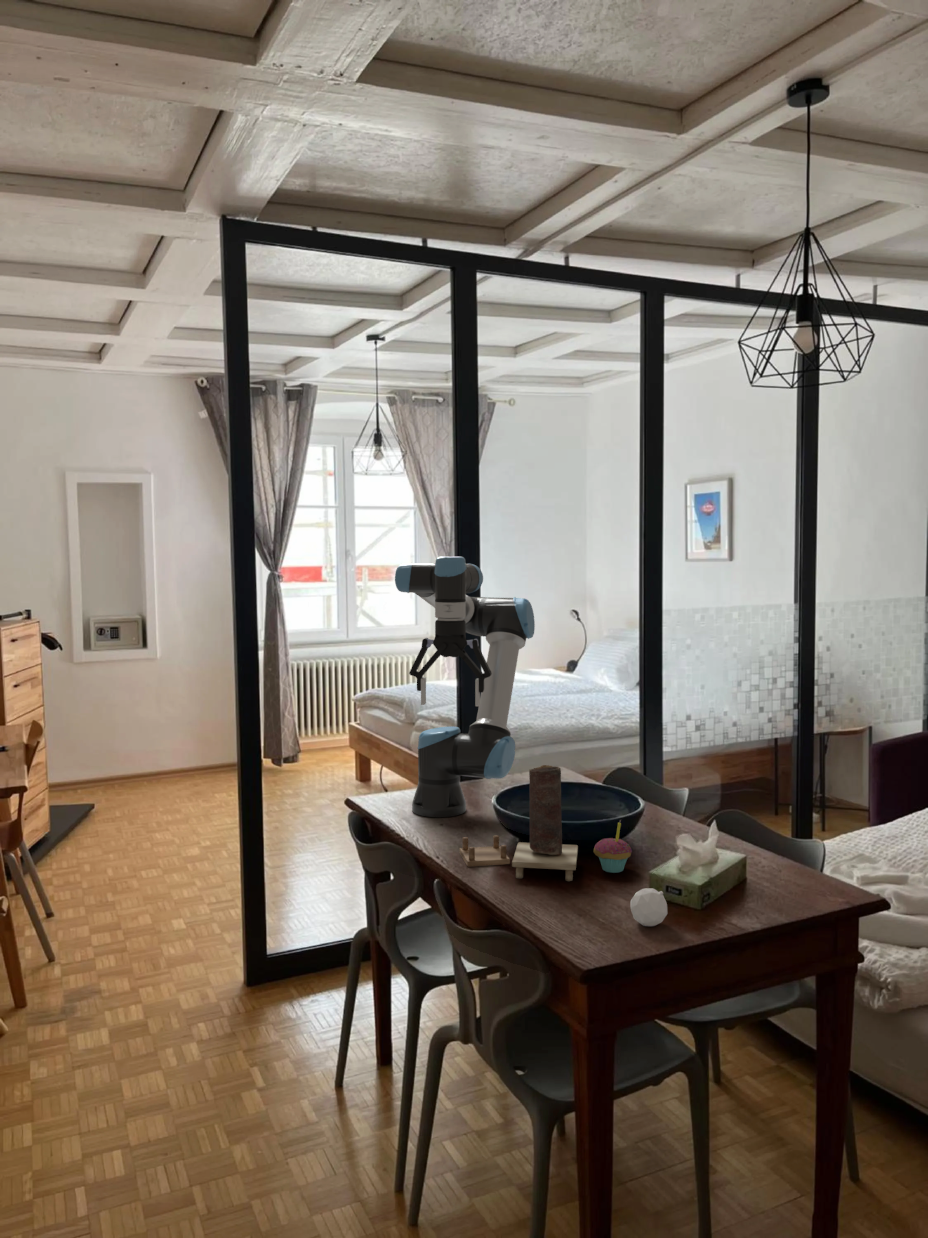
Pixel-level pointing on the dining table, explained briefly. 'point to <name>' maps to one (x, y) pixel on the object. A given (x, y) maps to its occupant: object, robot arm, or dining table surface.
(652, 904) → the ornament
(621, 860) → the cupcake
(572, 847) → the small wooden stool
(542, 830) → the brown wooden log
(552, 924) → the dining table surface
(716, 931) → the dining table surface
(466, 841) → the upturned stool decor
